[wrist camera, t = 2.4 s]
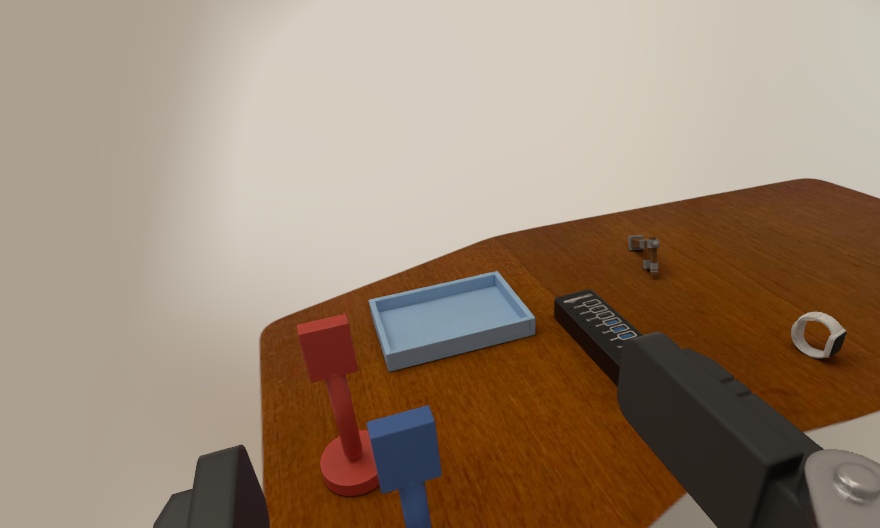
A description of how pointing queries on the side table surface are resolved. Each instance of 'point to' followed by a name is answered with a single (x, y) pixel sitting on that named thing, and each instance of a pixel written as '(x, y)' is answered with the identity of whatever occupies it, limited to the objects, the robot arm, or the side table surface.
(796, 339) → the smartwatch
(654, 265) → the wooden post with brackets
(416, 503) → the blue sign on stand
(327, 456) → the red sign on stand
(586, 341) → the multiport hub
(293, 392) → the side table surface
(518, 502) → the side table surface
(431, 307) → the tray
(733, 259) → the side table surface
